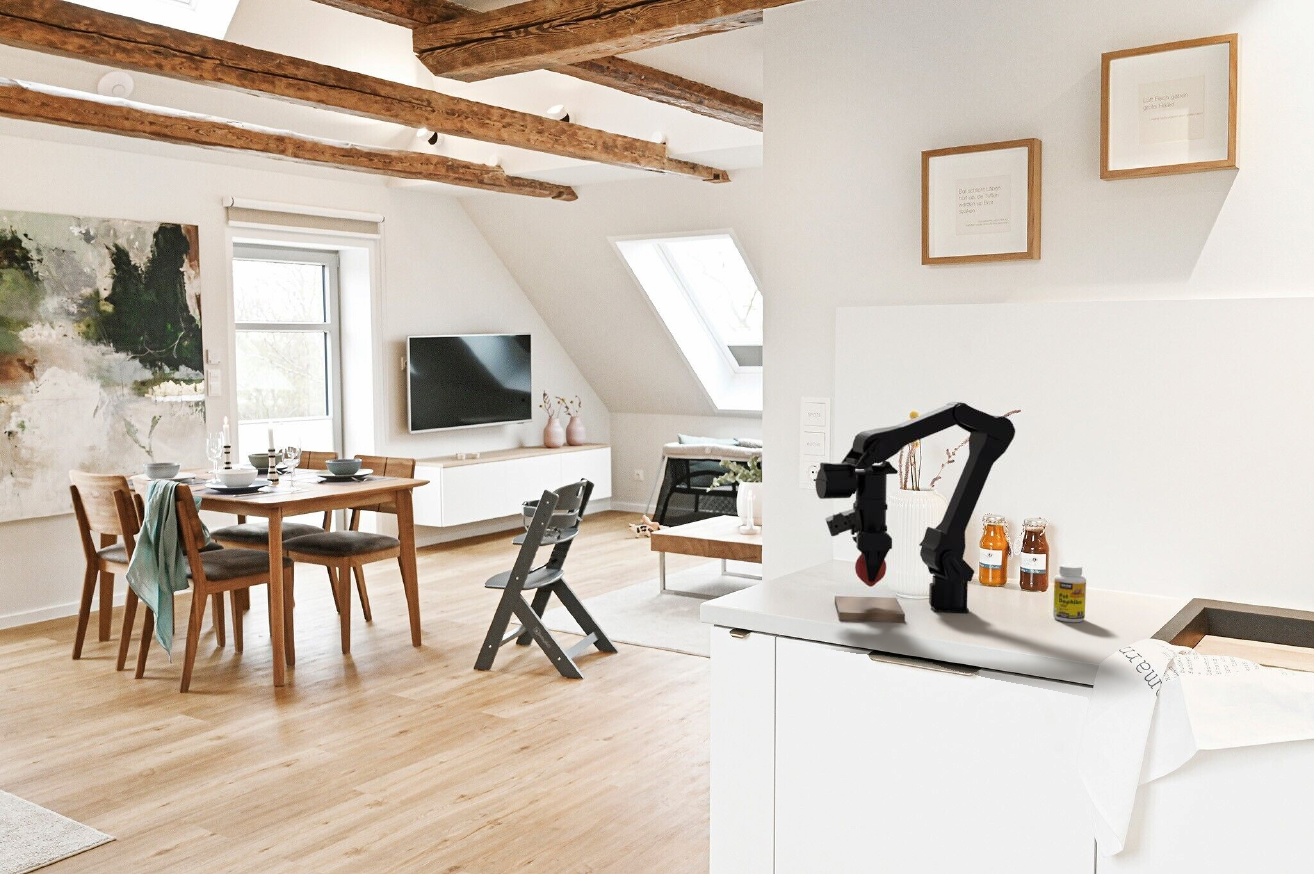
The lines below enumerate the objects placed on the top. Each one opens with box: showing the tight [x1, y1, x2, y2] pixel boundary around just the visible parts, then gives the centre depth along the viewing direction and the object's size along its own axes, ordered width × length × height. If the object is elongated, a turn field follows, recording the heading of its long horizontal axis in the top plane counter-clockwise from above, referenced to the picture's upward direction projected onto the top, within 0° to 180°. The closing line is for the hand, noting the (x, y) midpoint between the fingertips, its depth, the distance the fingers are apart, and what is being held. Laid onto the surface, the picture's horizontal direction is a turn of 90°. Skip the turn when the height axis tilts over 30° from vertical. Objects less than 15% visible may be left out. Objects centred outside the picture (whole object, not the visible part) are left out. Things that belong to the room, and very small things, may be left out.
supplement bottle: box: [1052, 563, 1087, 623], centre depth 202 cm, size 6×6×10 cm
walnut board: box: [834, 595, 906, 623], centre depth 207 cm, size 12×14×2 cm
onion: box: [854, 554, 887, 588], centre depth 207 cm, size 6×6×8 cm
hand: (869, 578), depth 207 cm, fingers closed on onion, 6 cm apart
